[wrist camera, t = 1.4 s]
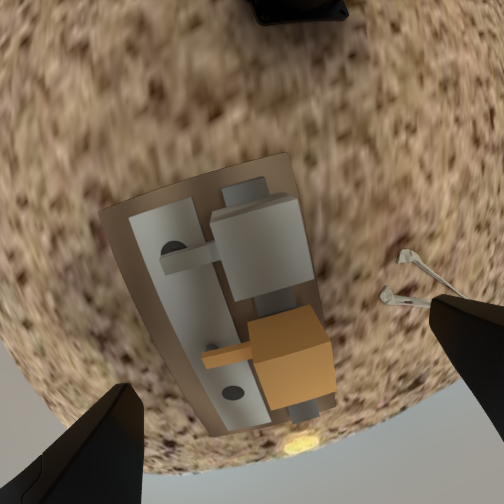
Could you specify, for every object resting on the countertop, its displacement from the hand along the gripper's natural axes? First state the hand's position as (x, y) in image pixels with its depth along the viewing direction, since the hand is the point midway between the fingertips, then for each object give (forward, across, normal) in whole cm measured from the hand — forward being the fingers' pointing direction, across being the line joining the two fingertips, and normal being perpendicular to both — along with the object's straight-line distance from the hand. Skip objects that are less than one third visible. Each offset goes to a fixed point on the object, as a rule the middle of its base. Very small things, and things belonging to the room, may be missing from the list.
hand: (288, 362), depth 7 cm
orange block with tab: (+10, +1, +6) cm, 12 cm away
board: (+12, +2, +6) cm, 14 cm away
